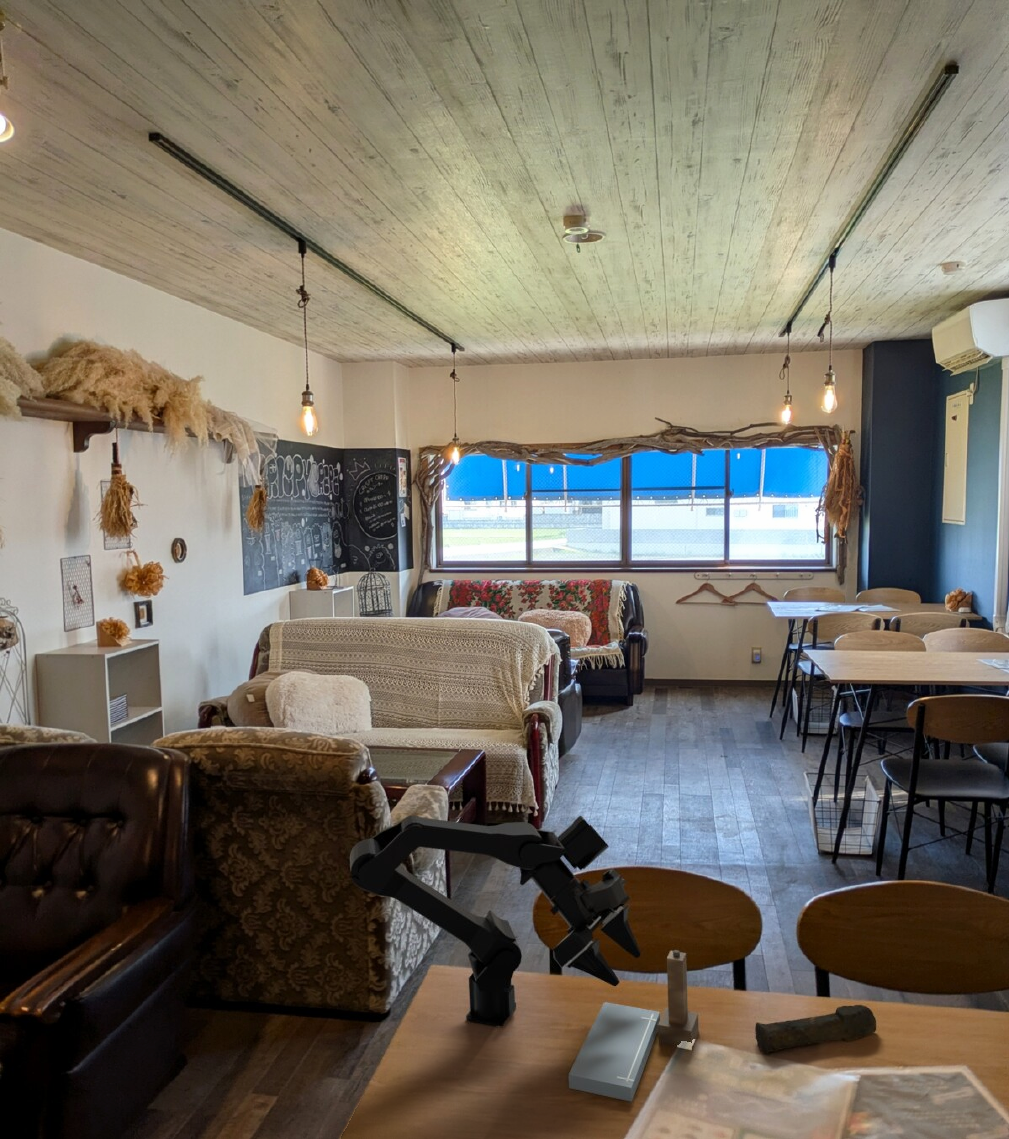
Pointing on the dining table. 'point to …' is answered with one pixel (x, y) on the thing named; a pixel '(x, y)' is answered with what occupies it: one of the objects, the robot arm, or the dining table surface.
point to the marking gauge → (677, 1005)
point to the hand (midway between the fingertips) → (628, 970)
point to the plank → (615, 1051)
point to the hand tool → (817, 1029)
